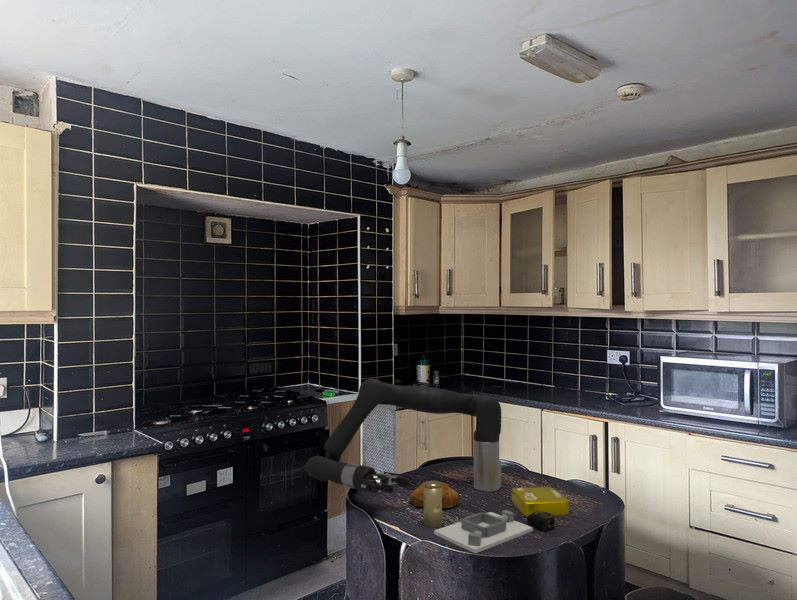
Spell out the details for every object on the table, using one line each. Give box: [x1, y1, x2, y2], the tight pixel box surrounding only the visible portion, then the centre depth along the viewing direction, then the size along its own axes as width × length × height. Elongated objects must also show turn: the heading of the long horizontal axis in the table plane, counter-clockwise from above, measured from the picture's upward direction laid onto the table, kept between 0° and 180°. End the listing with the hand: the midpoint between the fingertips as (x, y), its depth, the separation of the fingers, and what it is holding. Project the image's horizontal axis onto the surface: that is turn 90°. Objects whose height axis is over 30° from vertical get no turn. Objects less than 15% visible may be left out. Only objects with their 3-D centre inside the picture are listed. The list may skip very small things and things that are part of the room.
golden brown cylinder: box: [423, 480, 443, 528], centre depth 160 cm, size 6×6×12 cm
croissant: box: [409, 481, 459, 509], centre depth 178 cm, size 15×16×8 cm
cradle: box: [433, 509, 534, 554], centre depth 153 cm, size 24×16×4 cm, turn 128°
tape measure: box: [526, 511, 555, 531], centre depth 158 cm, size 7×7×4 cm
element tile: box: [511, 486, 570, 517], centre depth 174 cm, size 15×15×5 cm
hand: (400, 486), depth 166 cm, fingers open, 8 cm apart
